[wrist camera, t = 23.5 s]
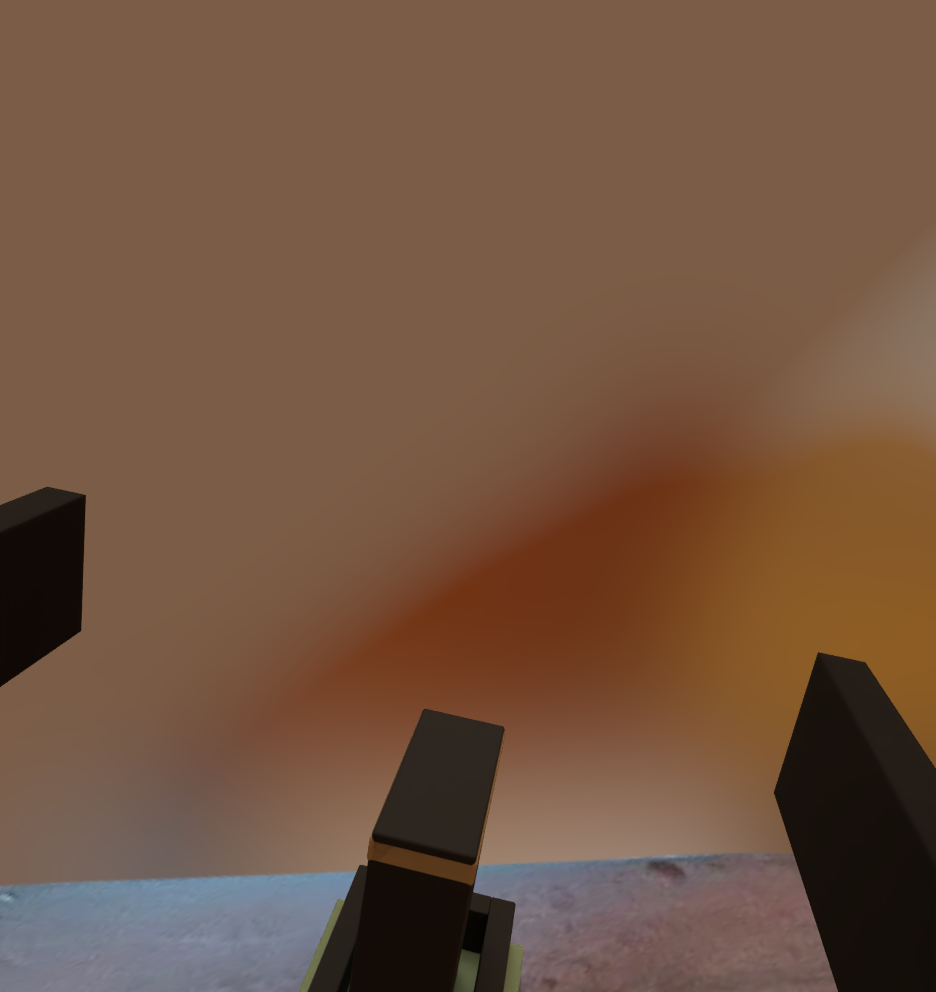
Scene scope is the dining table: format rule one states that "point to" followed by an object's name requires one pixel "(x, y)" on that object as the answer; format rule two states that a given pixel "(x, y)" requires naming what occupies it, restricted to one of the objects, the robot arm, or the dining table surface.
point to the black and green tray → (484, 957)
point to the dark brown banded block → (426, 857)
